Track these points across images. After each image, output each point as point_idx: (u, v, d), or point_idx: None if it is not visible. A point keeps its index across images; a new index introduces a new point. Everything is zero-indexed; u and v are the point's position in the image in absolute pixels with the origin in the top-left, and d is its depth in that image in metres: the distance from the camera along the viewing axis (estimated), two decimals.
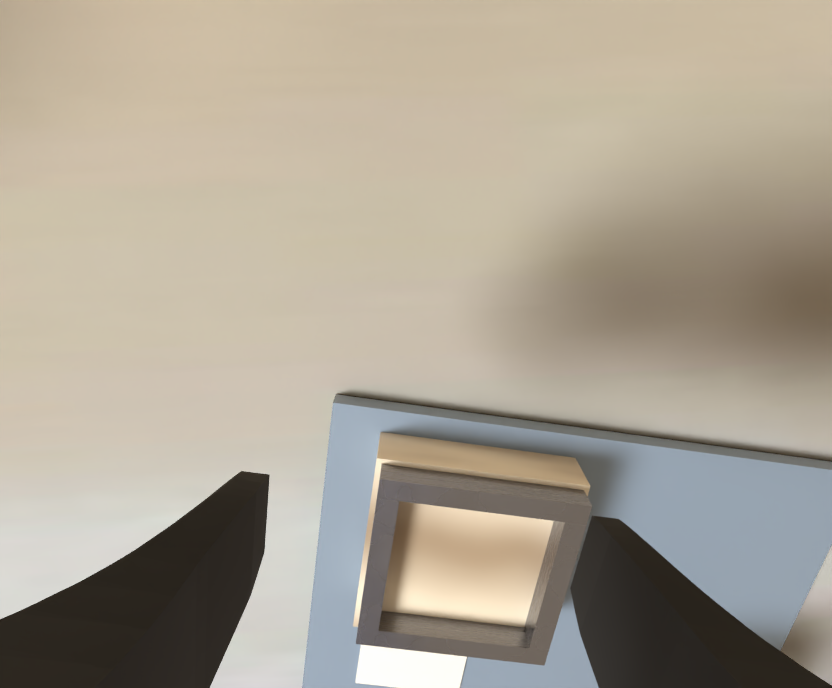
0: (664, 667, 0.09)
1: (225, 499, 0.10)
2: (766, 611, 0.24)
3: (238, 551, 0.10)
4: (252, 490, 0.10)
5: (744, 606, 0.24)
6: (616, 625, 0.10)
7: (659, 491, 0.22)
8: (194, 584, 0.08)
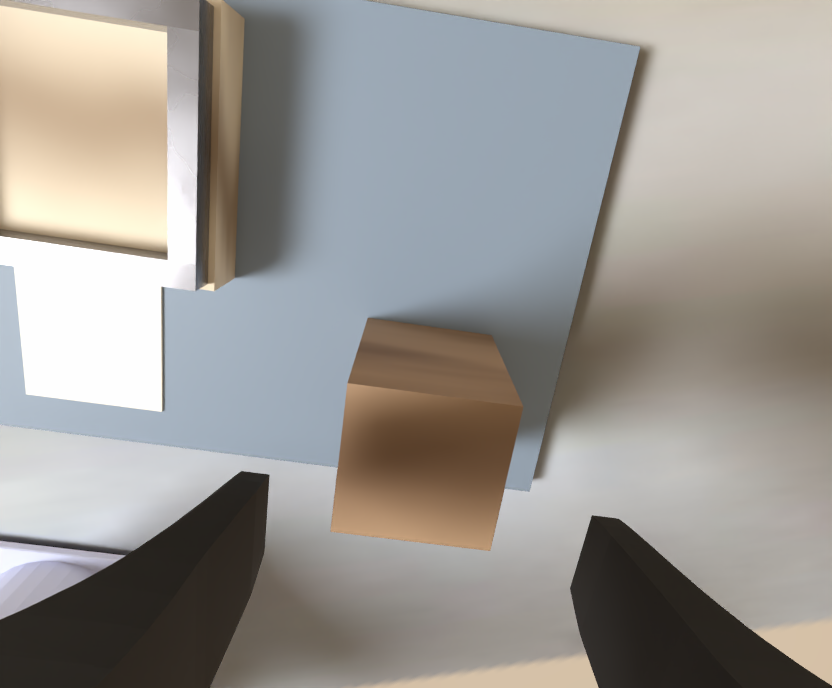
0: (664, 667, 0.09)
1: (225, 499, 0.10)
2: (539, 278, 0.19)
3: (238, 551, 0.10)
4: (252, 490, 0.10)
5: (509, 270, 0.18)
6: (616, 625, 0.10)
7: (367, 76, 0.17)
8: (194, 584, 0.08)
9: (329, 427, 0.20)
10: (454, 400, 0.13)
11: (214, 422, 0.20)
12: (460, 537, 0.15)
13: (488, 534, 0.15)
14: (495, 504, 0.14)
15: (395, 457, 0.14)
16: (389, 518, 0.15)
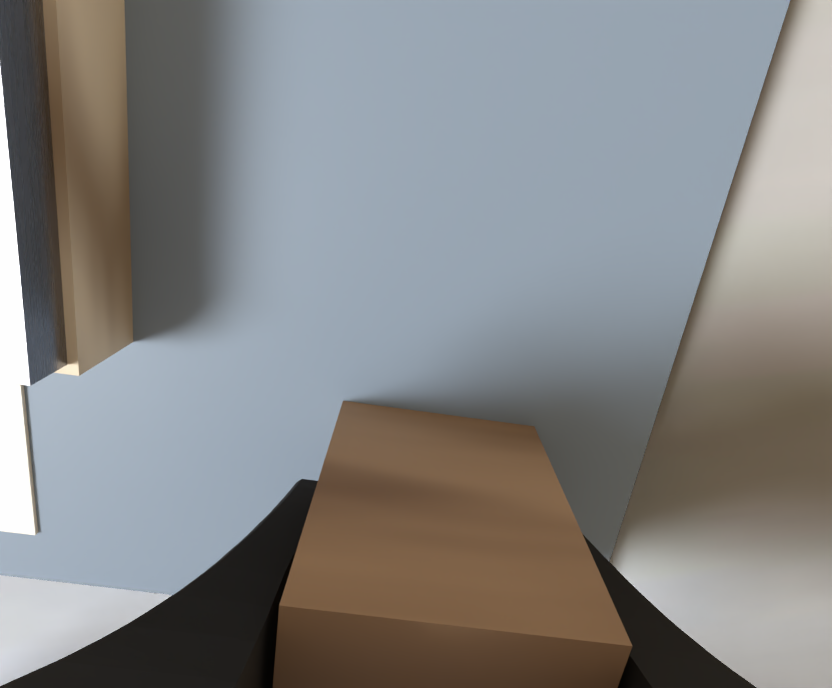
0: None
1: (295, 508, 0.10)
2: (612, 342, 0.12)
3: None
4: None
5: (566, 329, 0.12)
6: None
7: (336, 13, 0.10)
8: (281, 594, 0.08)
9: None
10: (495, 634, 0.07)
11: (116, 549, 0.14)
12: None
13: None
14: None
15: None
16: None
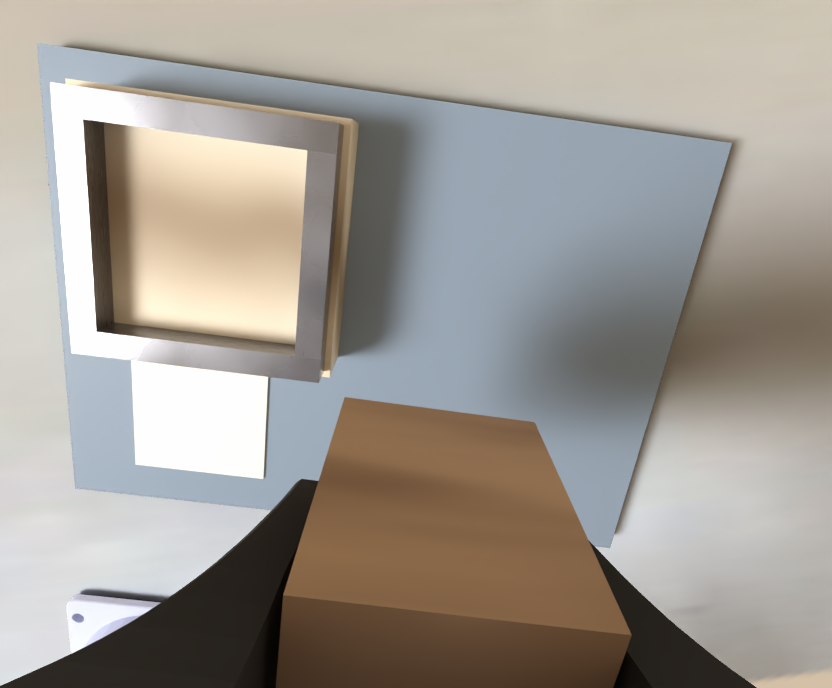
0: None
1: (294, 508, 0.10)
2: (627, 353, 0.20)
3: None
4: None
5: (599, 346, 0.19)
6: None
7: (472, 173, 0.18)
8: (281, 594, 0.08)
9: None
10: (496, 624, 0.07)
11: None
12: None
13: None
14: None
15: None
16: None
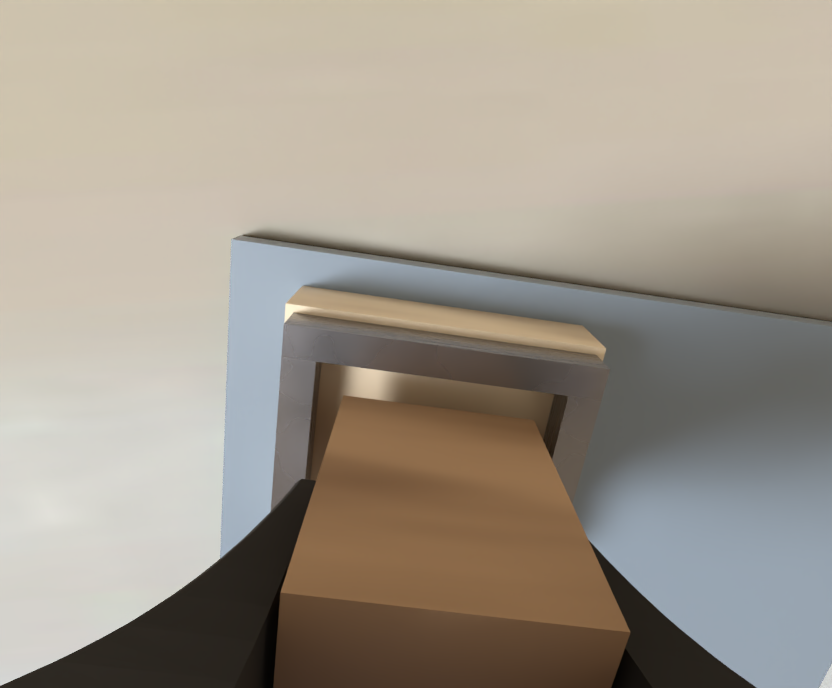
0: None
1: (294, 508, 0.10)
2: None
3: None
4: None
5: (814, 546, 0.18)
6: None
7: (701, 376, 0.16)
8: None
9: None
10: (494, 621, 0.07)
11: None
12: None
13: None
14: None
15: None
16: None
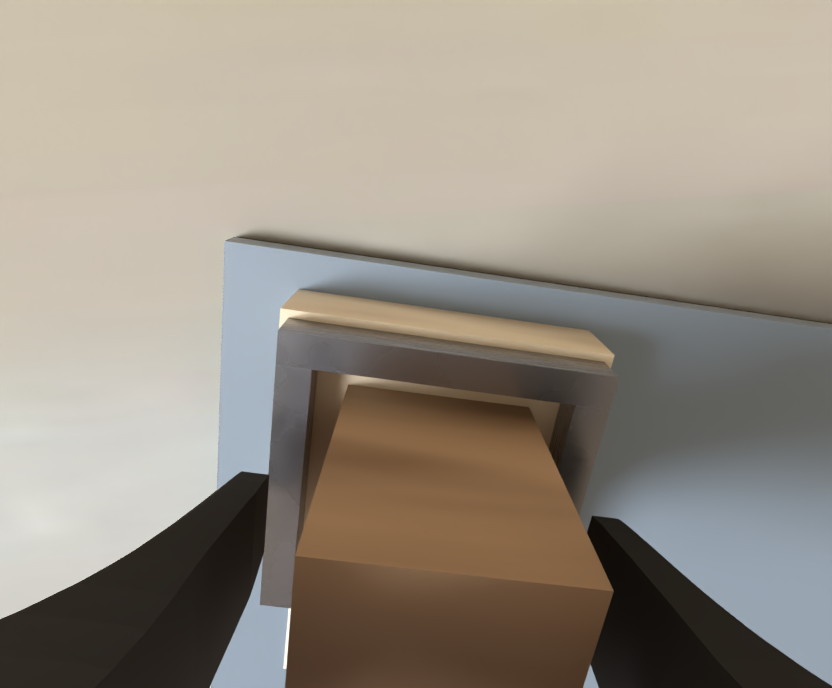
0: (664, 667, 0.09)
1: (225, 499, 0.10)
2: None
3: (238, 551, 0.10)
4: (252, 490, 0.10)
5: (826, 557, 0.17)
6: (616, 625, 0.10)
7: (711, 383, 0.15)
8: (194, 584, 0.08)
9: None
10: (489, 581, 0.07)
11: None
12: None
13: None
14: None
15: (384, 670, 0.08)
16: None
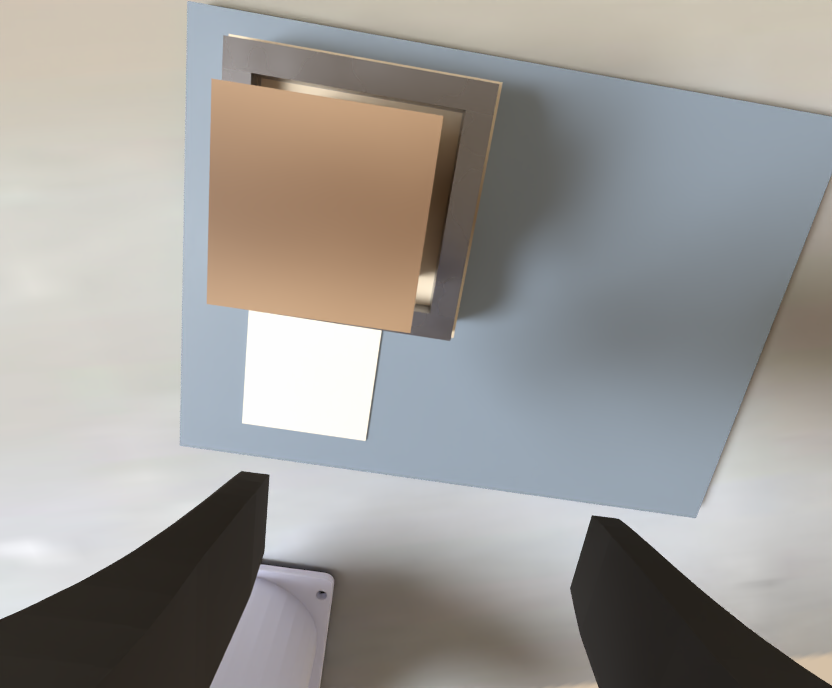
0: (664, 667, 0.09)
1: (225, 499, 0.10)
2: (732, 325, 0.20)
3: (238, 551, 0.10)
4: (252, 490, 0.10)
5: (705, 317, 0.20)
6: (616, 625, 0.10)
7: (599, 143, 0.18)
8: (194, 584, 0.08)
9: (518, 457, 0.22)
10: (353, 105, 0.10)
11: (412, 451, 0.22)
12: (371, 313, 0.12)
13: (407, 309, 0.12)
14: (413, 263, 0.11)
15: (281, 193, 0.11)
16: (280, 284, 0.12)
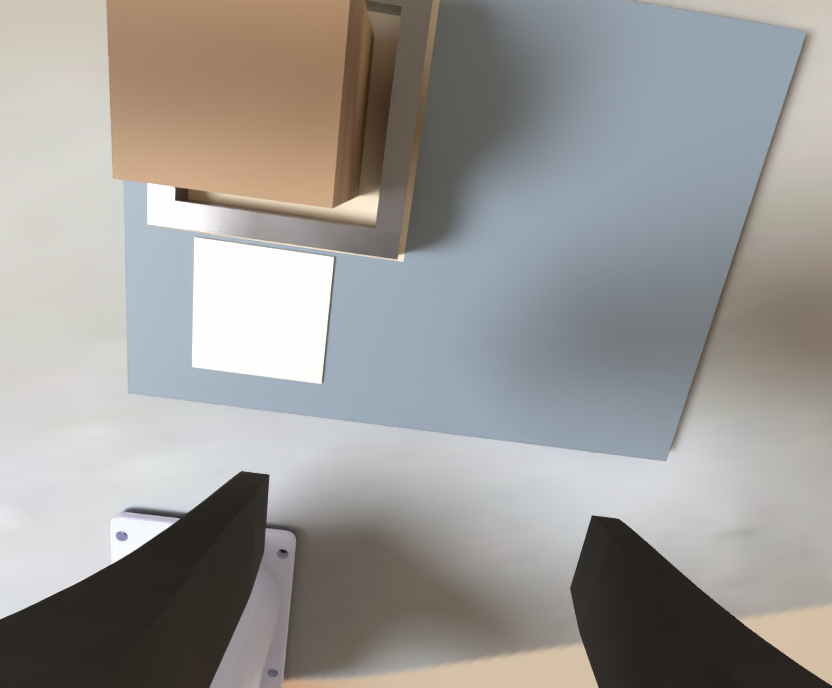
0: (664, 667, 0.09)
1: (225, 499, 0.10)
2: (693, 252, 0.20)
3: (238, 551, 0.10)
4: (252, 490, 0.10)
5: (666, 244, 0.19)
6: (616, 625, 0.10)
7: (549, 59, 0.18)
8: (194, 584, 0.08)
9: (480, 398, 0.21)
10: None
11: (370, 394, 0.21)
12: (290, 186, 0.11)
13: (327, 181, 0.11)
14: (331, 128, 0.11)
15: (185, 49, 0.10)
16: (190, 154, 0.11)
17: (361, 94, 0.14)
